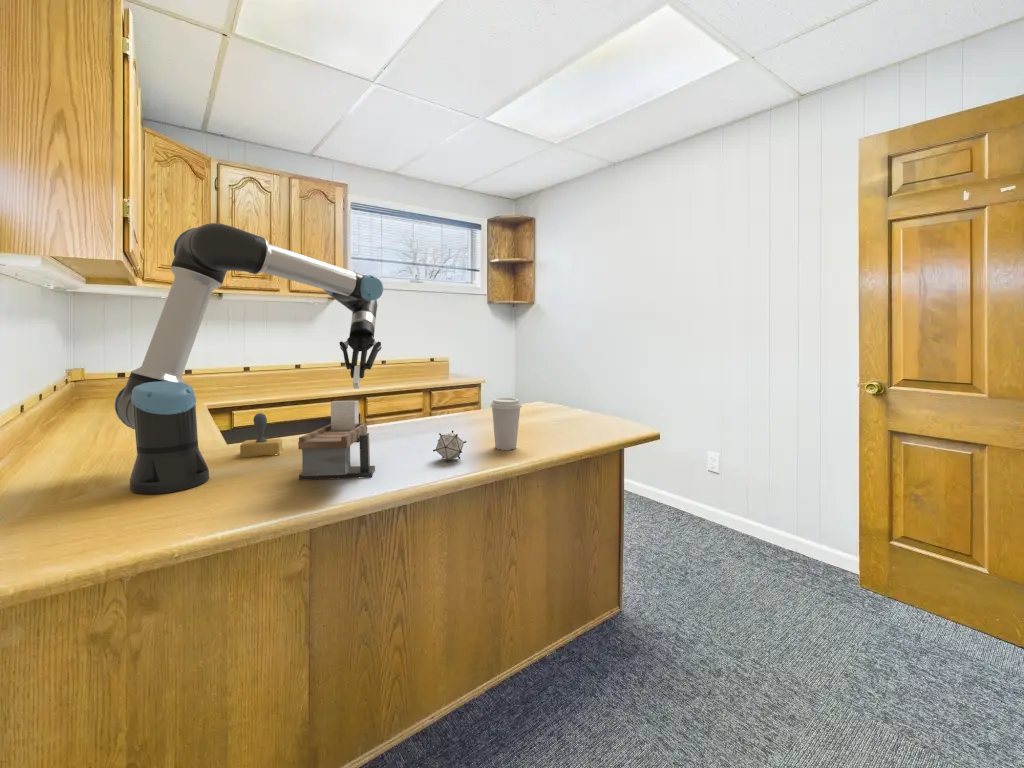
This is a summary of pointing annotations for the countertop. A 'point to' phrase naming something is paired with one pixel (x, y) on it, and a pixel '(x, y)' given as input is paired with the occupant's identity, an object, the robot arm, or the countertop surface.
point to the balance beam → (328, 450)
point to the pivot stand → (354, 471)
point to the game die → (449, 446)
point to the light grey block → (344, 415)
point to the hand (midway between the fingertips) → (355, 385)
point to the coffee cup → (506, 422)
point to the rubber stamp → (260, 441)
